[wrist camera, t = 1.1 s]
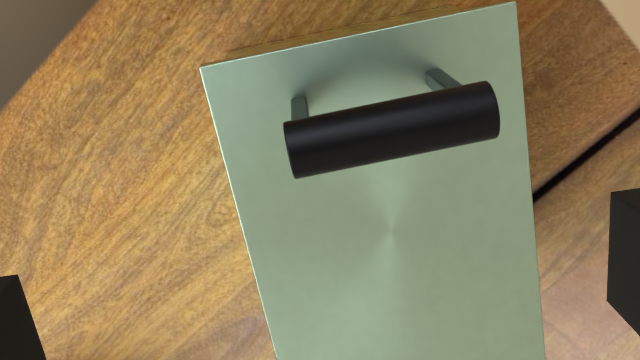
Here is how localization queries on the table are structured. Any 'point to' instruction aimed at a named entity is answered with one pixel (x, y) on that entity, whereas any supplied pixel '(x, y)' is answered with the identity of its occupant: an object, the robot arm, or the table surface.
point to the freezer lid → (387, 189)
